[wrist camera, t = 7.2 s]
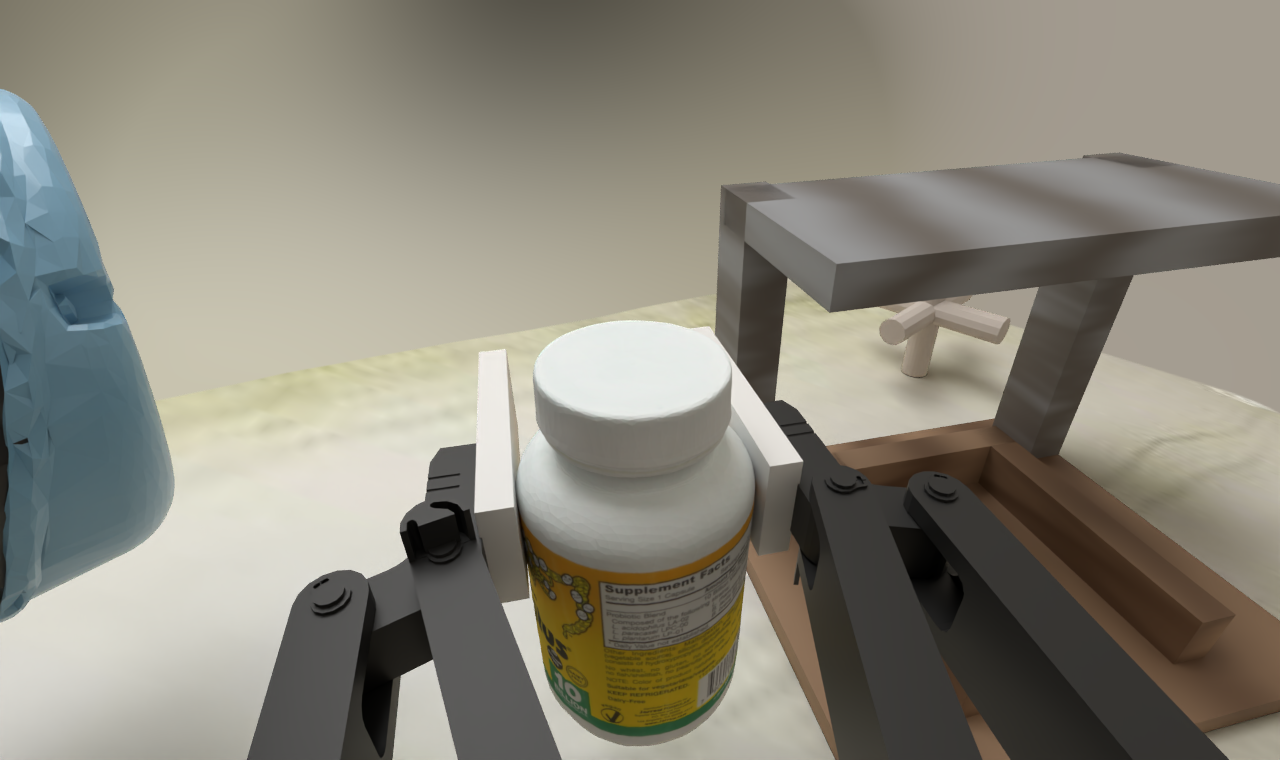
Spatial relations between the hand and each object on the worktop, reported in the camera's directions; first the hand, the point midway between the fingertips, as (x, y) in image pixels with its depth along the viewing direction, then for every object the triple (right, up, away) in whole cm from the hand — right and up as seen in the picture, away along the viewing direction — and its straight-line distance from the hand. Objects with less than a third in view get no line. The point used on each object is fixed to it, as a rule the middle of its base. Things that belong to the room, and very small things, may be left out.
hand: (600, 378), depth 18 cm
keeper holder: (+17, -9, +11) cm, 22 cm away
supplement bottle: (+1, -8, -1) cm, 8 cm away
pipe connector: (+22, 0, +27) cm, 34 cm away
